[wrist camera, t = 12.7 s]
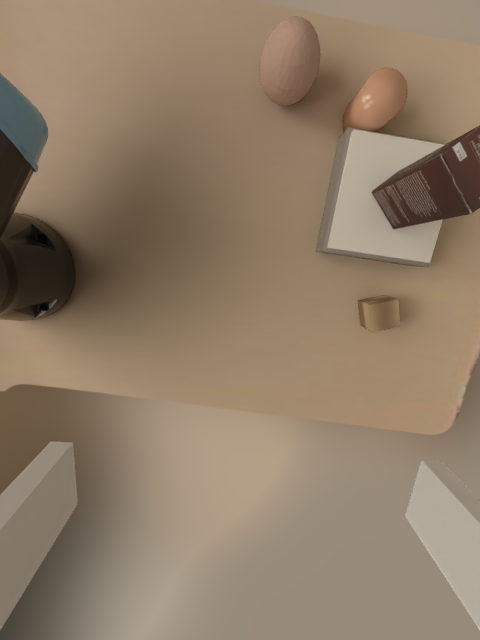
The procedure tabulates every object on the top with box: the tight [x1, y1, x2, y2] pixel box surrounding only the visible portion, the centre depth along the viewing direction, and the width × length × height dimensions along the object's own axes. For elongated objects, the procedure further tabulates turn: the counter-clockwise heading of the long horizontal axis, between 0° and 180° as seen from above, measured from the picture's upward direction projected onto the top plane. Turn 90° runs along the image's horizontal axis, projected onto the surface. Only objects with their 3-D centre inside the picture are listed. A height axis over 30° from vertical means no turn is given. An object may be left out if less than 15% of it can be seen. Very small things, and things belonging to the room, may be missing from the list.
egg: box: [260, 16, 320, 106], centre depth 31 cm, size 7×7×9 cm
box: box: [372, 126, 480, 229], centre depth 29 cm, size 6×4×12 cm
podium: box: [316, 127, 446, 267], centre depth 37 cm, size 15×15×4 cm
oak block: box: [358, 295, 400, 332], centre depth 40 cm, size 4×4×4 cm
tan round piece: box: [342, 68, 407, 132], centre depth 33 cm, size 5×5×6 cm
